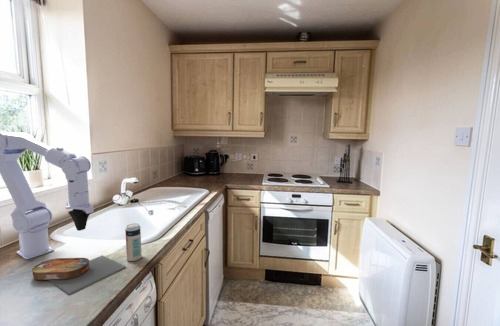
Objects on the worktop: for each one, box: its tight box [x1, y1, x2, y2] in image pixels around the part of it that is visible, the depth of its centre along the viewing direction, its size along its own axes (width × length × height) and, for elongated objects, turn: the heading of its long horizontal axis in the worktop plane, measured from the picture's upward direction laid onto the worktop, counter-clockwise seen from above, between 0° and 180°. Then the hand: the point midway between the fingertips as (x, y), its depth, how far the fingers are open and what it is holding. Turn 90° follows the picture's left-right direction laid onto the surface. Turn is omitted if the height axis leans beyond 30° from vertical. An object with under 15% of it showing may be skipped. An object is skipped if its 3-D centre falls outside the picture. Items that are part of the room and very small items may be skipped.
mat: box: [48, 255, 127, 296], centre depth 75 cm, size 14×16×1 cm
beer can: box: [124, 223, 142, 262], centre depth 84 cm, size 5×5×12 cm
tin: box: [31, 257, 89, 281], centre depth 74 cm, size 15×3×8 cm
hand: (81, 229), depth 86 cm, fingers closed
